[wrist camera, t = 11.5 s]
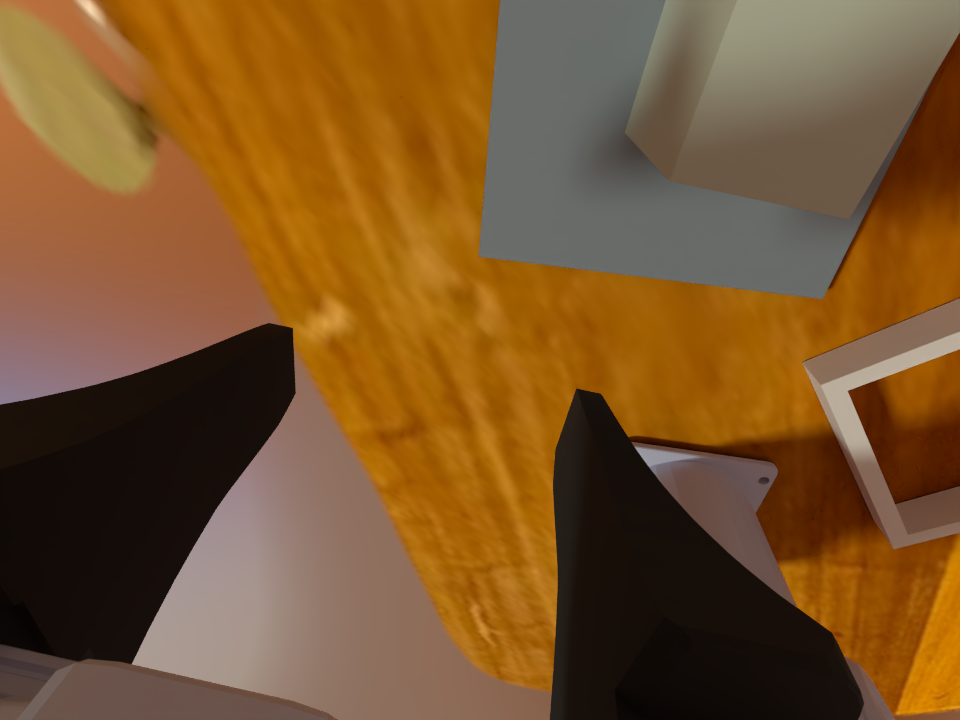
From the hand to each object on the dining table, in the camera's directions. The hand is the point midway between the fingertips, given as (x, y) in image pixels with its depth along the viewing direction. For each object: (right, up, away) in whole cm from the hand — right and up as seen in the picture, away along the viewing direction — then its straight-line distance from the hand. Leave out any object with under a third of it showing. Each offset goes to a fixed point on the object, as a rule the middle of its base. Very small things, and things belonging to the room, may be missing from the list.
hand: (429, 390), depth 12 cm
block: (+9, +10, +4) cm, 14 cm away
